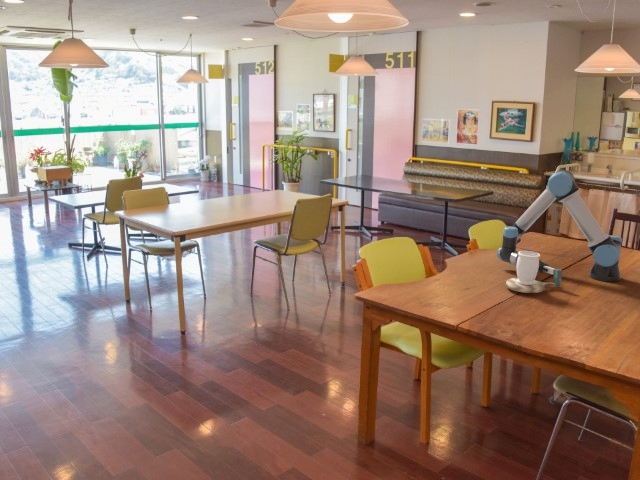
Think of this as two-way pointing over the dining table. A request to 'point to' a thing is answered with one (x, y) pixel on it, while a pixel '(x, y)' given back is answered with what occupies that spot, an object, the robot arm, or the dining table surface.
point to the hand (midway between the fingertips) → (554, 271)
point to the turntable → (536, 286)
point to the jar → (527, 267)
